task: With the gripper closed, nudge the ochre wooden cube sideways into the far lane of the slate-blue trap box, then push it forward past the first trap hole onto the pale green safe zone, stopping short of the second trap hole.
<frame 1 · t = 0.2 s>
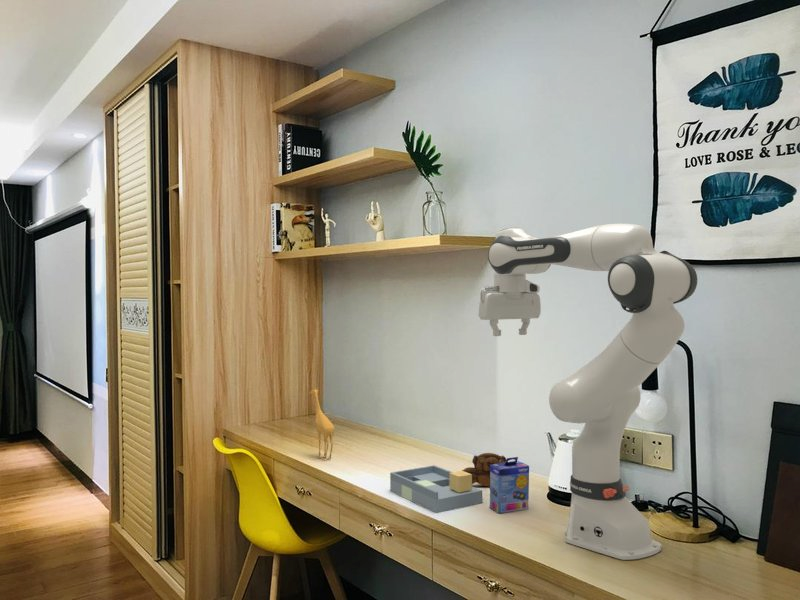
hand: (510, 335, 187), 47 cm above the table, tool pointing down, fingers open, 8 cm apart
block: (460, 490, 187), point 3 cm above the table, touching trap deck
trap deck: (435, 496, 193), on the table
giraffe: (321, 458, 241), on the table
wooden carving: (488, 486, 204), on the table
ink cartridge box: (509, 509, 182), on the table
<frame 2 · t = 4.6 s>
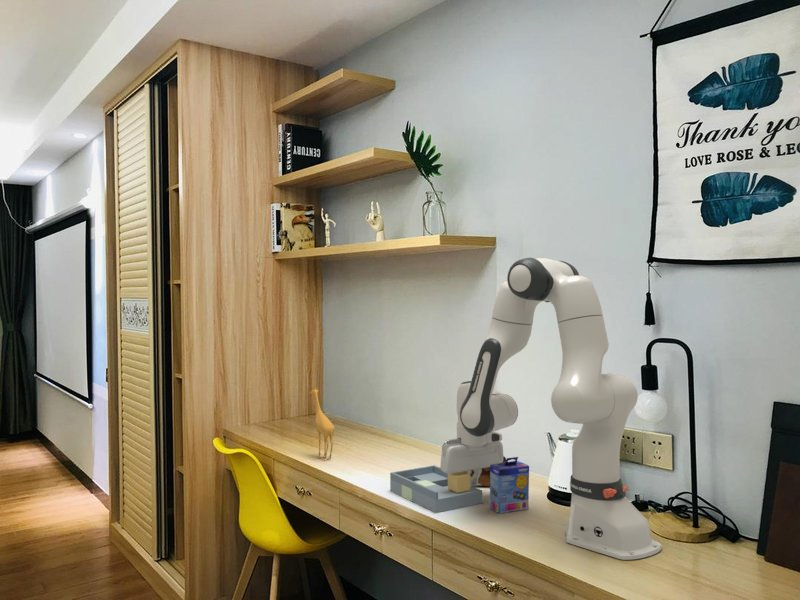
hand: (472, 484, 190), 4 cm above the table, tool pointing down, fingers closed
block: (458, 490, 187), point 4 cm above the table, touching gripper, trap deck
everything else where it was.
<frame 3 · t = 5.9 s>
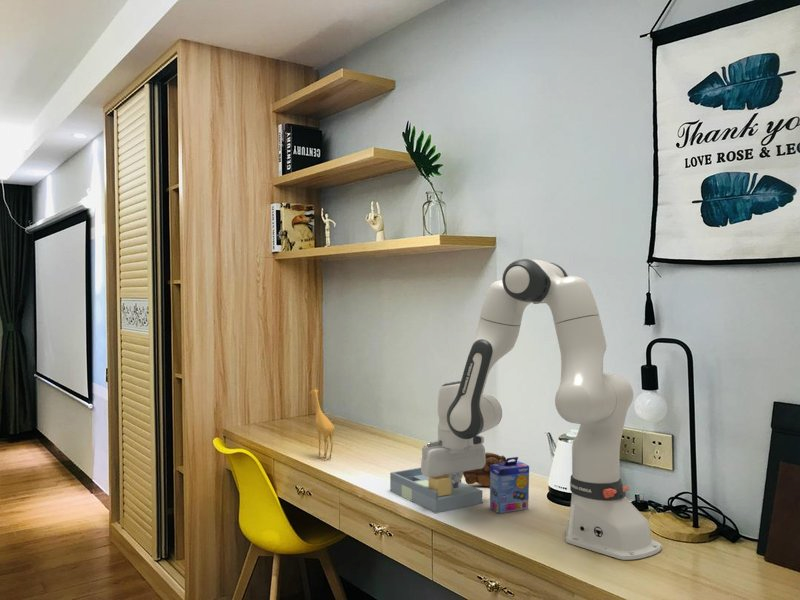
hand: (453, 488, 186), 4 cm above the table, tool pointing down, fingers closed
block: (439, 494, 184), point 4 cm above the table, touching gripper
everything else where it was.
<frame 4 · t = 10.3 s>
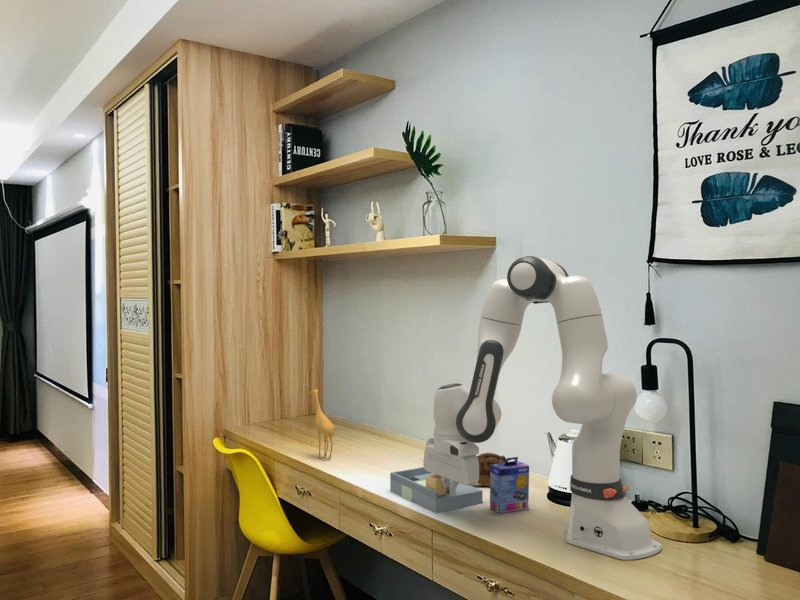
hand: (450, 494, 180), 5 cm above the table, tool pointing down, fingers closed
nothing on the table moved.
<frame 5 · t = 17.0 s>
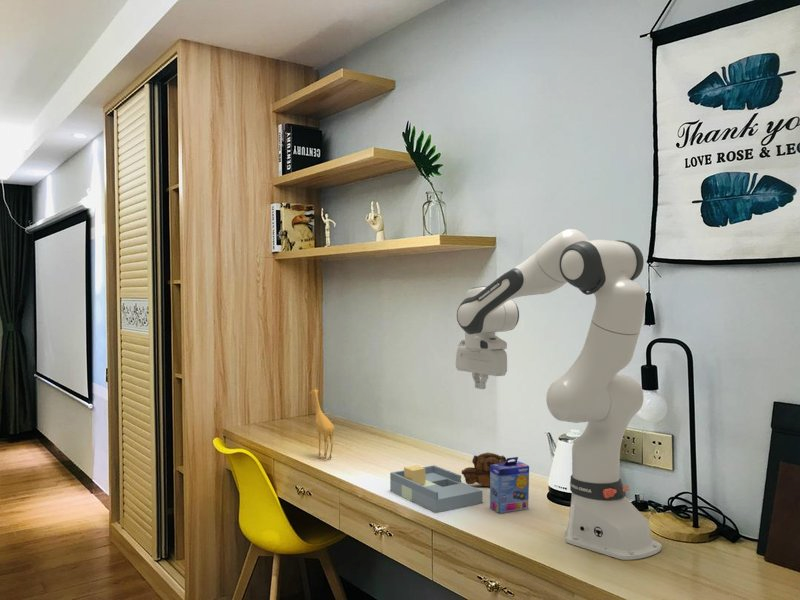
hand: (480, 388, 196), 31 cm above the table, tool pointing down, fingers closed
block: (414, 483, 194), point 3 cm above the table, touching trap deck
everything else where it was.
at the end: block inside the target area on the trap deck (1.3 cm from its centre), point 3.5 cm above the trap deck's base; block tilted 0° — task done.
